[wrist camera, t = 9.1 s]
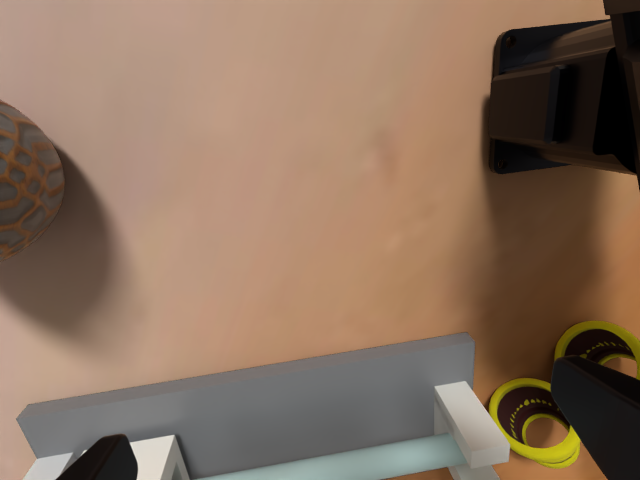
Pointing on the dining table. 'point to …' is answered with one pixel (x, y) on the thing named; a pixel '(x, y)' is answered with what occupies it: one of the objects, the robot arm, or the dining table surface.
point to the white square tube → (159, 459)
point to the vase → (26, 181)
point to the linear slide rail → (295, 418)
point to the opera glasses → (536, 398)
